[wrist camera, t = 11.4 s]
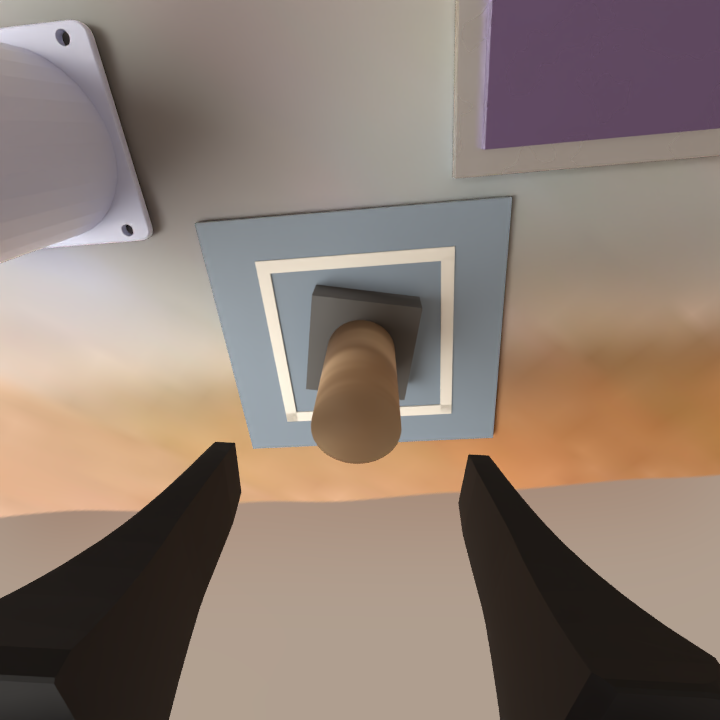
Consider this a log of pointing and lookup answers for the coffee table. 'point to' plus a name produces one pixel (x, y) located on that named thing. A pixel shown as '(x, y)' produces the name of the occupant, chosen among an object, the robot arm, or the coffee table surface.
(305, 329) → the marked board
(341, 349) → the wooden stamp
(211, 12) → the coffee table surface
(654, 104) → the ink pad
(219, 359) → the coffee table surface
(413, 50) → the coffee table surface
